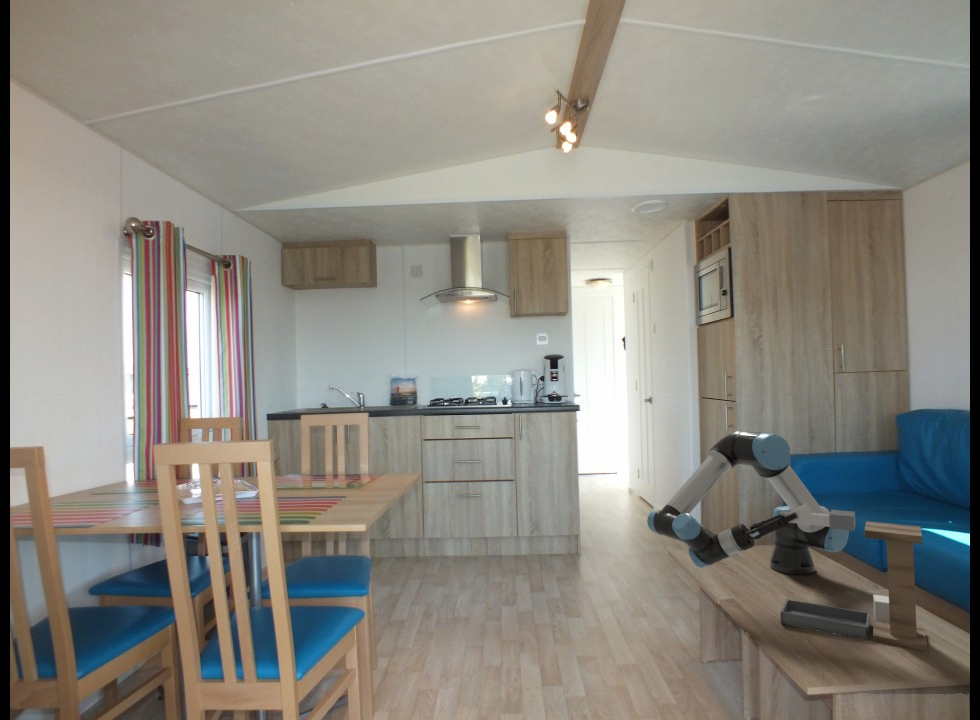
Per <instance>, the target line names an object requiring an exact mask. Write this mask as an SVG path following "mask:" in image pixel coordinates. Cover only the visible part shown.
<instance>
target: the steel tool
mask: <svg viewBox="0 0 980 720" xmlns="http://www.w3.org/2000/svg"><path fill="white" fill-rule="evenodd" d="M789 512H791V511H790V510H782V511H781V516H784V514H787V513H789ZM829 512H830V514H821V513H811V512H809V513H810V515H808V516H805V517H803V518H801V519H798V520H796V521H794V522H791V523H798V524H808V525H817V526H827V527H830V528H831V529H840V530H849V532H850V531H851V532H855V528H856V511H850V510H849V511H848V510H840V509H839V510H838V509H831V510H830V511H829ZM784 517H785V516H784Z"/></svg>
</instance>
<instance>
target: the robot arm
mask: <svg viewBox="0 0 980 720" xmlns="http://www.w3.org/2000/svg"><path fill="white" fill-rule="evenodd" d="M790 451H791V447H790V445H789V443H788V442H787V441H786V439H785V438H784V437H783V436H781V435H779V434H776V433H772V432H771V433H770V432H759V431H748V430H747V431H746V430H737V431H734V432H731V433H728V434H726V435H725V436H724V437H722V438H721V439H719V441H717V442H716V443H715V444H714V445H713V446H712V447H711V448H710V449H709V451H707V454H706V455H707V457H706V459H704V461H703V462H702V463H701V464H700V465H699V466H698V467H697V469H696V470H695V471H694V472H693V473H692V474H691V475H690V477H689V478H688V479H687V480H686V481H685V482H684V483H683V485H681V487H680V488H678V489H679V490H678V491H677V492H675V493H674V495H673V496H672V497H671V498H670V499H669V501H668V502H666V504H665V506H664V507H662V509H661V510H660V509H658V510H657V509H655V510H653V511H651V512H650V513H649V514H648V516H647V519H646V521H647V527H648V528H649V530H651V531H652V532H653V533H656V534H658V535H660V536H664V537H668V538H670V539H672V540H675V541H679V542H681V543H684V544H685V545H686V546H688V547H689V548H688V554H689V557H690V559H691V561H692V562H693V564H694V565H695V566H696V567H698V568H701V569H702V568H705V567H708V566H712V565H714V564H716V563H719V562H720V561H723V560H725V559H727V558H729V557H732V556H734V557H738V554H739V553H742V552H743V551H747V550H749V549H752V548H754V547H755V540H758V539H761V538H762V537H764V536H766V535H768V534H770V533H772V532H773V539H774V542H773V543H774V545H773V546H774V547H773V550H772V552H771V553H772V554H771V555H770V559H769V566H770V569H772V570H774V571H777V572H780V573H782V574H783V573H784V574H790V575H801V576H802V575H809V574H810V575H811V574H813V573H815V572H816V568H815V567H816V564H815V562H814V559H813V556H812V554H811V552H810V547H811V548H815V549H818V550H819V549H820V550H822V551H826V552H829V553H830V552H831V553H837V552H841V551H842V550H843V549H844V548H845V547H846V545H847V543H848V540H849V535H850V531H849V530H840V529H831V528H830V527H827V526H817V525H808V524H798V523H791V522H794V521H796V520H798V519H801V518H803V517H805V516H808V515H810V513H809V512H811V513H821V514H830V512H831V511H830V510H829V509H828V508H826V507H825V506H822V505H819V503H818V502H817V500H816V499H815V497H813V495H812V493H811V492H810V490H809V489H808V488H807V487H806V486H805V484H804V483H803V482H802V480H801V478H800V477H799V476H798V475H797V473H796V472H795V470H794V469H793V468H792V467H791V465H790V464H791V457H792V454H791V452H790ZM738 465H744V466H750V467H752V468H753V469H754V471H755V472H756V473H757V475H758V476H759V477H761V478H763V479H766V480H768V482H769V483H770V484H771V485H772V487H773V489H774V490H775V491H776V492H777V494H779V496H780V497H781V499H782V500H783V502H784V503H785V504H786V505H784V506H776V507H775V508H774V510H773V516H772V517H770V518H767V519H766V520H762V521H760V522H757V523H753V524H751V526H749V528H747V526H746V525H745V524H744V523H740V524H738V525H735V526H733V527H731V528H728V529H725V530H723V531H721V532H718V533H717V534H715V535H711V534H710V533H709V532H708V531H707V530H706V529H705V528H704V527H703V525H702V524H701V523H700V522H699V520H697V519H696V518H694V517H693V516H692V514H691V512H693V510H694V509H695V508H696V507H697V505H698V504H699V503H700V502H701V501H702V499H703V498H704V497H706V495H707V494H708V493H709V492H710V490H711V489H712V488H713V487H714V486H715V484H717V482H718V481H719V480H720V478H721V477H722V476H723V475H724V474H725V473H726V472H730V471H731V470H732V469H733V468H734V467H736V466H738ZM782 510H790V511H791V512H789V513H787V514H784V516H785V517H784V516H781V511H782Z"/></svg>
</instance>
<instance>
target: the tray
mask: <svg viewBox="0 0 980 720" xmlns="http://www.w3.org/2000/svg"><path fill="white" fill-rule="evenodd" d="M780 624H781V625H783V624H787V625H786V626H789V625H791V626H790V627H794V626H796V628H800V627H803V628H802V629H805V628H807V630H810V629H813V630H812V631H816V630H818V631H817V632H821V631H823V632H822V633H827V632H829V633H828V634H832V633H836V634H835V635H837V634H841V635H840V636H843V635H845V637H848V636H851V637H850V638H854V637H855V639H859V638H860V640H865V641H869V640H870V633H871V632H870V630H871V615H870V612H868V611H861V610H855V609H849V608H843V607H836V606H830V605H823V604H819V603H813V602H806V601H800V600H795V599H794V600H793V599H789V598H787V599H785V602H784V604H783V606H782V608H781V611H780Z"/></svg>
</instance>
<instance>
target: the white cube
mask: <svg viewBox="0 0 980 720" xmlns="http://www.w3.org/2000/svg"><path fill="white" fill-rule="evenodd" d="M872 596H873V597H872V598H873V616H874V619H875V620H876V621H881V622H888V623H890V613H889V596H886V595H879V594H873V595H872Z"/></svg>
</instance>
